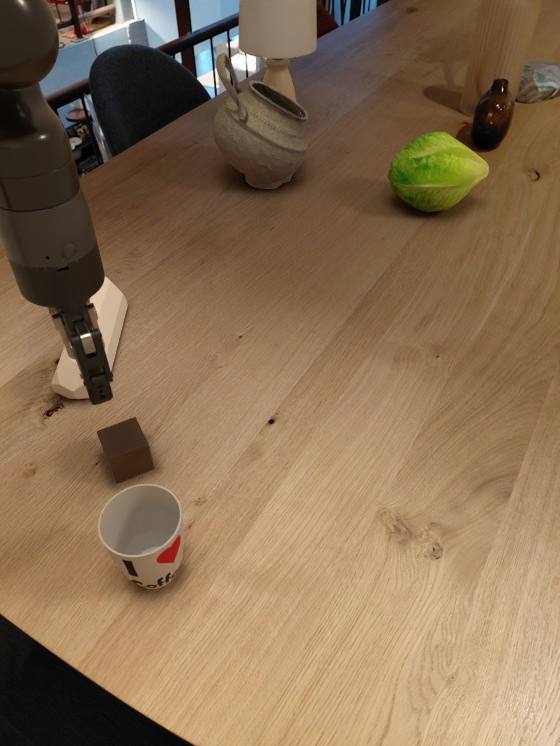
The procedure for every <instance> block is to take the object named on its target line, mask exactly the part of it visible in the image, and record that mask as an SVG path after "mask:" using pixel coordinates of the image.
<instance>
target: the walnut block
mask: <svg viewBox="0 0 560 746" xmlns="http://www.w3.org/2000/svg"><path fill="white" fill-rule="evenodd" d="M96 435H97V437H98V440H99V442H100V443H99V444H100V446H101V448H102V451H103V454H104V457H105V460H106V462H107V464H108V467H109V470H110V472H111V475H112V478H113V479H114V483H115V484H116V485H117V484H119V483H122V482H125V481H127V480H130V479H132V478H135V477H138V476H140V475H142V474H145V473H147V472H149V471H152V470H154V469H155V464H154V460H153V456H152V452H151V448H150V445H149V444H150V443H149V442H148V440H147V438H146V436H145V434H144V432H143V430H142V427H141V425H140V423H139V421H138V418H137V417H136V416H134V417H131V418H128V419H126V420H123V421H120V422H117V423H115V424H112V425H109V426H106V427H104V428H101V429H98V430H96Z"/></svg>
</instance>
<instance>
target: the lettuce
mask: <svg viewBox="0 0 560 746" xmlns="http://www.w3.org/2000/svg"><path fill="white" fill-rule="evenodd" d="M489 174H490V167H489V164H488V163H487V161H486V160H484V159H483V158H482V157H481V156H479V155H478V154H477V153H476V152H474V151H473V150H472V149H470V148H469V147H468V146H467V145H465V144H464V143H462V142H461V141H459V140H458V139H457V138H455V137H453V136H452V135H450V134H449V133H448V132H446V131H432V132H429V133H423V134H421V135H420V136H418V137H416V138H414V139H412V140H411V141H410V142H409V143H407V144H406V145H405V146H403V147H402V148H401V149H400V150H399V152H398V153H397V154H396V155H395V156H394V158H393V159H392V161H391V163H390V167H389V170H388V173H387V179H388V183H389V184H390V186H391V188H392V191H393V192H394V193H395V194H396V195H397V196H398V197H399V198H400V199H401V200H402V201H403V202H405V203H406V204H408V205H410V206H411V207H413V208H414V209H416V210H418V211H419V210H420V211H423V212H425V213H432V212H439V211H445V210H447V211H448V210H449V209H451V208H452V207H454V206H455V205H456V204H458V203H459V202H461V201H462V200H463V199H464V198H465V197H466V196H467V195H468V194H469V192H471V190H472V189H473V187H475V186H476V185H477V184H479V183H480V182H482V181H483V180H484V179H486V178H487V177H488V176H489Z"/></svg>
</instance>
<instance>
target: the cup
mask: <svg viewBox="0 0 560 746" xmlns="http://www.w3.org/2000/svg"><path fill="white" fill-rule="evenodd" d="M97 533H98V536H99V539H100V541H101V543H102V544H103V546H104V548H105V550H106V553H108V555H109V557H110V558H111V561H112V562H113V563H114V565H115V566H116V567H117V569H119V570H120V571H121V572H122V573H123V575H125V577H126V578H127V579H128V580H129V581H130V582H132V583H134V584H136V585H138V586H139V587H142V588H143V589H146V590H157V589H160V588H164V587H166V586H167V585H168V584H170V583H171V582H172V581H173V580H174V579H175V577H176V576H177V573H178V571H179V568H180V566H181V564H182V561H183V557H184V556H183V555H184V545H185V528H184V518H183V510H182V505H181V502H180V500H179V498H178V497H177V496H176V495H175V494H174V493H173V491H171V490H170V489H168V488H167V487H165V486H162V485H159V484H154V483H140V484H135V485H131V486H129V487H126V488H124V489H122V490H120V491H119V492H117V493H116V494H114V495H113V496H111V498H110V499H109V500H108V501H107V502H106V504H105V505H104V506H103V508H102V510H101V511H100V513H99V517H98V521H97Z"/></svg>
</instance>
